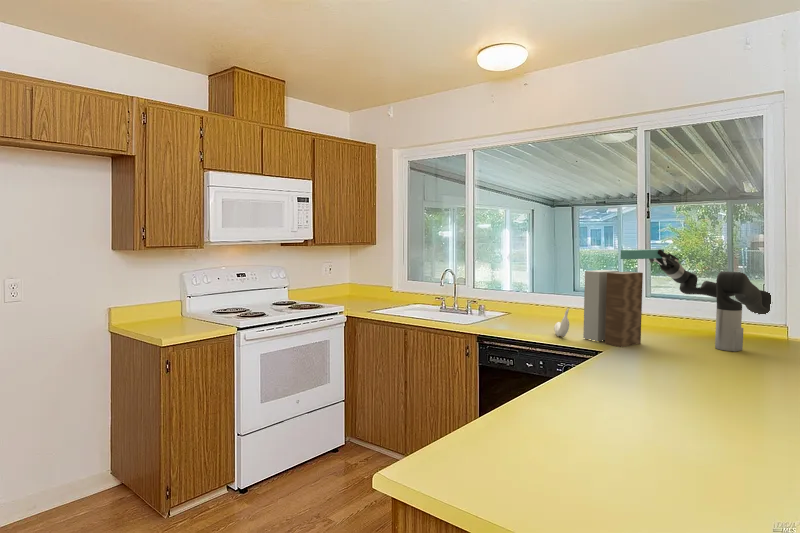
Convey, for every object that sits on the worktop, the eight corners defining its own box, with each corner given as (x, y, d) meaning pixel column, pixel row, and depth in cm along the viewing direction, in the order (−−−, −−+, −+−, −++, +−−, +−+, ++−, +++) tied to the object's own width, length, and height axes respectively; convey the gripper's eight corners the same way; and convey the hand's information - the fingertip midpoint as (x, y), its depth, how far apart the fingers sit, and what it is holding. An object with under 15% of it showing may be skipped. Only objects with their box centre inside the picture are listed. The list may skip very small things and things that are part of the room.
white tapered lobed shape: (560, 332, 262) (560, 303, 261) (572, 340, 243) (572, 309, 242) (550, 332, 262) (551, 303, 261) (561, 340, 243) (562, 309, 242)
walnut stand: (624, 340, 243) (626, 271, 241) (640, 343, 236) (642, 272, 234) (605, 343, 236) (606, 272, 234) (620, 347, 229) (622, 274, 227)
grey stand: (603, 335, 253) (604, 269, 251) (617, 338, 246) (619, 270, 244) (583, 339, 246) (584, 271, 244) (597, 342, 239) (599, 272, 237)
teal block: (655, 257, 248) (656, 249, 248) (663, 258, 245) (664, 249, 244) (620, 259, 235) (620, 250, 234) (628, 259, 231) (628, 250, 231)
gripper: (684, 276, 245) (665, 258, 237) (655, 273, 257) (637, 257, 249) (689, 261, 247) (671, 244, 238) (660, 260, 259) (642, 243, 251)
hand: (654, 250), depth 244 cm, fingers closed on teal block, 4 cm apart
